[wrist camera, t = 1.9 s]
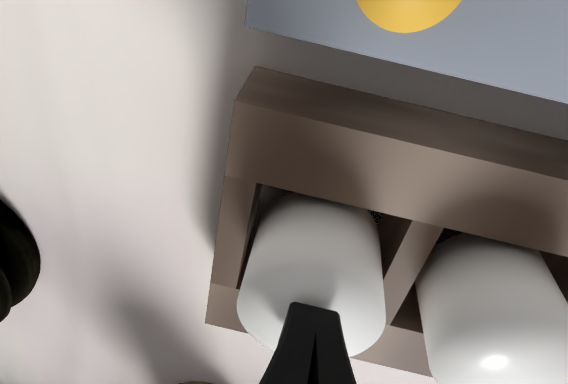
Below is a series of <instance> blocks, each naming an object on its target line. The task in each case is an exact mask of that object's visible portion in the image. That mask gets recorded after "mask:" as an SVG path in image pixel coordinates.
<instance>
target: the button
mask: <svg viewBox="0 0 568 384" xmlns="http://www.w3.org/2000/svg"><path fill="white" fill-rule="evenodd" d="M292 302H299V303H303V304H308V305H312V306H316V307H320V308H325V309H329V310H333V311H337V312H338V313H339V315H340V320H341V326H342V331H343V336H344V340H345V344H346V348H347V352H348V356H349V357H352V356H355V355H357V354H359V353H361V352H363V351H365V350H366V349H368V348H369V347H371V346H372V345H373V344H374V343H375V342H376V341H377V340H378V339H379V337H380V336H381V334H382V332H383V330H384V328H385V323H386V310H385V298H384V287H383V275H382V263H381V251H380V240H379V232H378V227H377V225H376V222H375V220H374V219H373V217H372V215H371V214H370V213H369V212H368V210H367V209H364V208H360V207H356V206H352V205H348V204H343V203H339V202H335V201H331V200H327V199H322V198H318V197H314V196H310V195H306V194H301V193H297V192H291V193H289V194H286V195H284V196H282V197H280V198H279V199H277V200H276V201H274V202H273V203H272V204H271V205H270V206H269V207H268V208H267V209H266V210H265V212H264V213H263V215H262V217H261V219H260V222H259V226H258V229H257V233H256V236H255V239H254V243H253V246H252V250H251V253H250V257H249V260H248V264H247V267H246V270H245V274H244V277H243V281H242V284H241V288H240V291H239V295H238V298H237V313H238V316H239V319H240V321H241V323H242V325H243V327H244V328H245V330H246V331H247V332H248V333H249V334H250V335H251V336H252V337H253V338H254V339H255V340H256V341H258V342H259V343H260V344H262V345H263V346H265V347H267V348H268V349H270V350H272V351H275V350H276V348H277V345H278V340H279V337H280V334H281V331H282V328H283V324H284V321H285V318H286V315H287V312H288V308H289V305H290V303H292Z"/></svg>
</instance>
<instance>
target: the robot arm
mask: <svg viewBox="0 0 568 384" xmlns="http://www.w3.org/2000/svg"><path fill="white" fill-rule="evenodd" d="M259 384H356V381H355V377H354V374H353V371H352V367H351V364H350V360H349V356H348V352H347V348H346V344H345V340H344V336H343V331H342V326H341V320H340V315H339V313H338V312H337V311H333V310H329V309H325V308H320V307H316V306H312V305H308V304H303V303H299V302H292V303H290V305H289V308H288V312H287V315H286V318H285V321H284V324H283V328H282V331H281V334H280V337H279V340H278V345H277V348H276V350H275V352H274V354H273V357H272V359H271V361H270V363H269V365H268V367H267V369H266V371H265V373H264V375H263V377H262V379H261V381H260V383H259Z"/></svg>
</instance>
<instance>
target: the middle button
mask: <svg viewBox="0 0 568 384" xmlns="http://www.w3.org/2000/svg"><path fill="white" fill-rule="evenodd" d="M415 286H416V292H417V298H418V304H419V310H420V315H421V321H422V327H423V333H424V339H425V345H426V351H427V357H428V363H429V369H430V371H431V374H432V376H433V377H434V379H435V380H436V381H437V383H438V384H568V303H567V302H566V300H565V298H564V296H563V294H562V292H561V291H560V289H559V287H558V285H557V283H556V281H555V280H554V278H553V276H552V274H551V272H550V270H549V268H548V267H547V265H546V263H545V261H544V259H543V257H542V256H541V254H540V252H539V251H538V250H536V249H532V248H528V247H524V246H519V245H515V244H511V243H507V242H503V241H498V240H494V239H490V238H486V237H482V236H477V235H473V234H469V233H462V234H459V235H456V236H453V237H451V238H448V239H446V240H444V241H442V242H440V243H438V244H437V245H436V246H434V247H433V248H432V250H431V252H430V254H429V256H428V257H427V259H426V261H425V263H424V265H423V266H422V268H421V270H420V272H419V274H418V275H417V277H416V279H415Z"/></svg>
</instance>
